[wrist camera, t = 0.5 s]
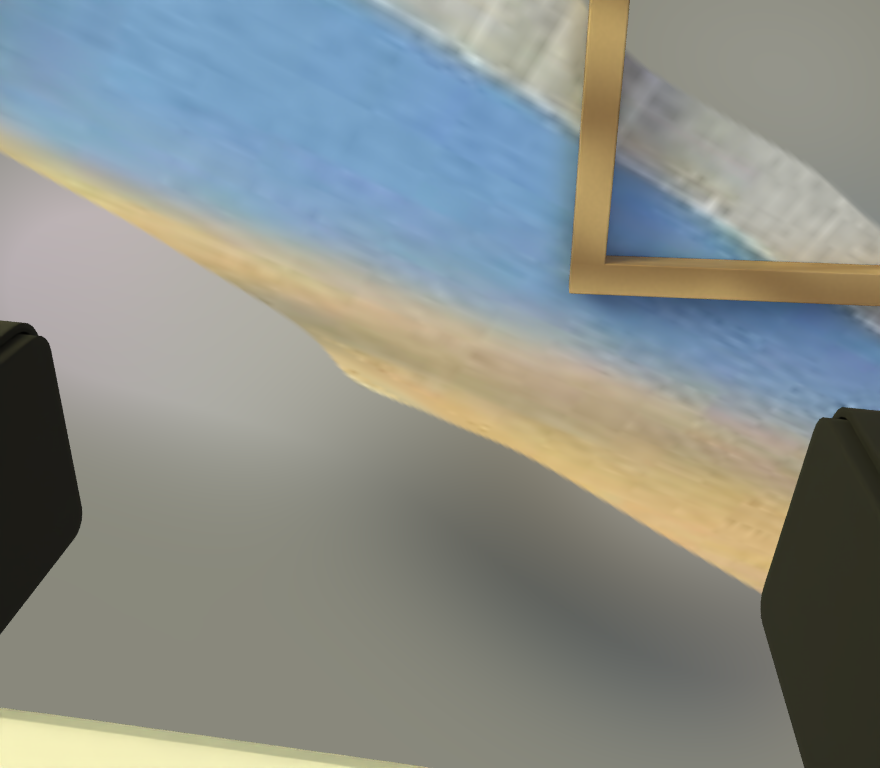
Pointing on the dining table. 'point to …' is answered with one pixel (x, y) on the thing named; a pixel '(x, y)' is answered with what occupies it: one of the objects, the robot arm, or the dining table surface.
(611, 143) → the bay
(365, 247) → the dining table surface
